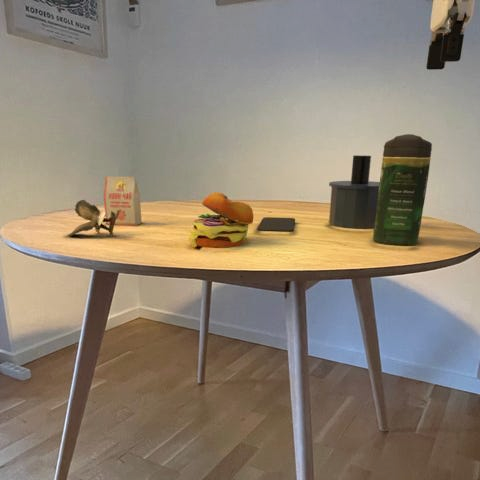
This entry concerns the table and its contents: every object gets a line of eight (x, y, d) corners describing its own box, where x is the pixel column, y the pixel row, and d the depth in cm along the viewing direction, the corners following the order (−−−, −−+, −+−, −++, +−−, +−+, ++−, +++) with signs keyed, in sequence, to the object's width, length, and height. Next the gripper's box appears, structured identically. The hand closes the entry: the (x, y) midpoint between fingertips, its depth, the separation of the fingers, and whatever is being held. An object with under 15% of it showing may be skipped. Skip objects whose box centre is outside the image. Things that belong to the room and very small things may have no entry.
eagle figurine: (121, 225, 95) (77, 216, 95) (118, 197, 90) (72, 188, 89) (110, 251, 91) (64, 242, 90) (107, 224, 85) (57, 215, 85)
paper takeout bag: (113, 221, 106) (109, 175, 103) (141, 222, 105) (138, 176, 102) (106, 224, 103) (101, 177, 99) (135, 225, 102) (131, 177, 98)
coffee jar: (417, 250, 80) (434, 133, 73) (370, 246, 82) (382, 133, 76) (418, 240, 88) (434, 134, 82) (375, 236, 91) (387, 134, 84)
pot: (379, 223, 106) (383, 184, 103) (387, 232, 96) (392, 189, 93) (327, 221, 108) (330, 183, 105) (330, 230, 97) (333, 188, 94)
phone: (255, 229, 93) (263, 217, 107) (255, 233, 94) (263, 220, 107) (293, 230, 92) (295, 217, 106) (292, 234, 93) (295, 221, 106)
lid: (385, 186, 104) (388, 155, 101) (395, 192, 92) (399, 157, 90) (327, 185, 105) (329, 154, 103) (330, 191, 94) (332, 156, 91)
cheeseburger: (178, 241, 85) (189, 185, 83) (230, 250, 90) (242, 198, 88) (197, 251, 77) (209, 190, 74) (254, 261, 82) (267, 203, 79)
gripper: (502, -73, 70) (480, 57, 76) (465, -33, 86) (450, 71, 92) (449, -70, 71) (432, 58, 77) (423, -32, 87) (410, 72, 93)
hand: (442, 65), depth 85 cm, fingers open, 9 cm apart
